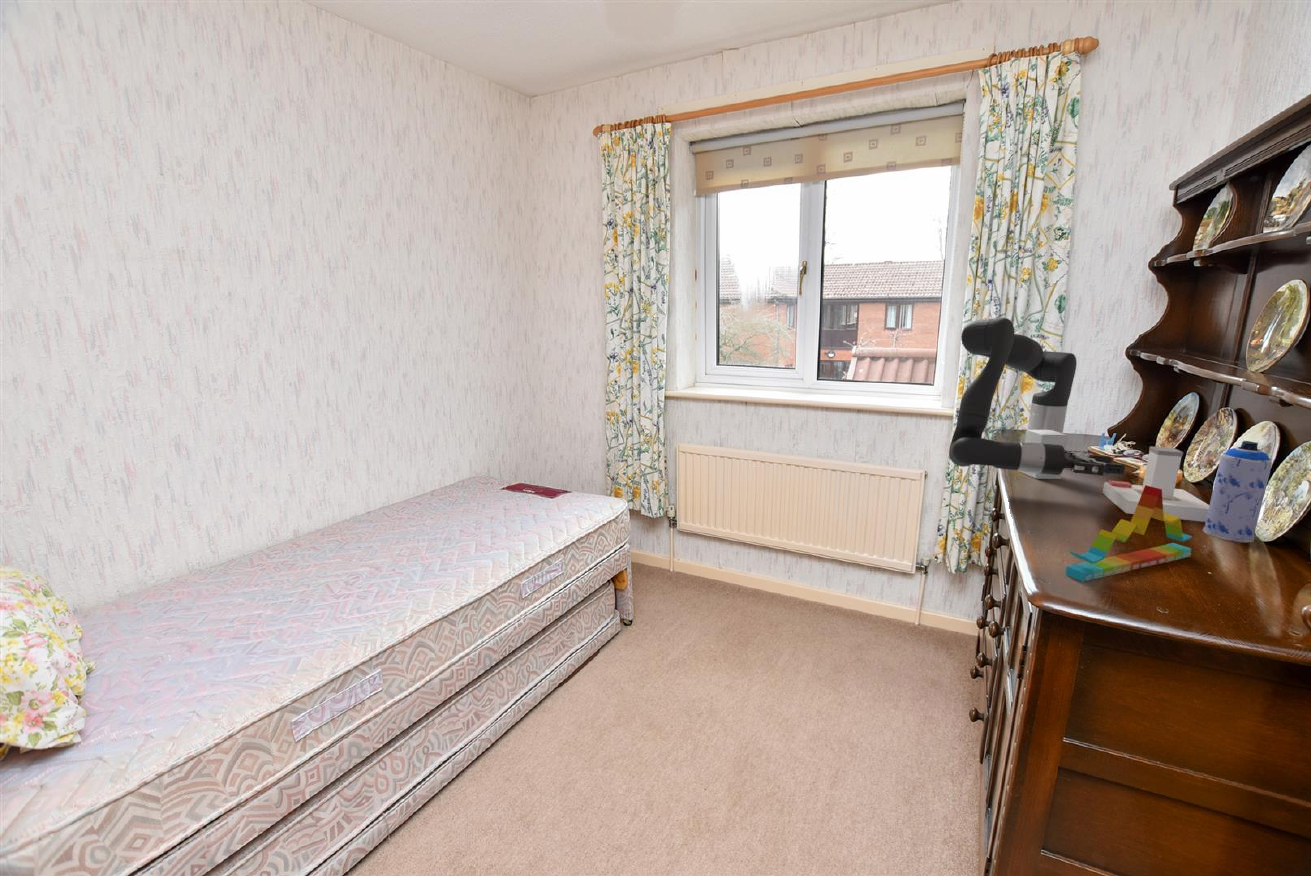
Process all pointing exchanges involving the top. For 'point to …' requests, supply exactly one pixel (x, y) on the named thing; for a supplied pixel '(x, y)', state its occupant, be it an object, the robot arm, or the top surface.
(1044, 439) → the supplement box
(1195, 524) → the top surface
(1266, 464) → the aerosol can
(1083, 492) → the top surface
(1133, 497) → the socket
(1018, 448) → the robot arm
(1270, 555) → the top surface
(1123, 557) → the chart
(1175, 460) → the tall white box
